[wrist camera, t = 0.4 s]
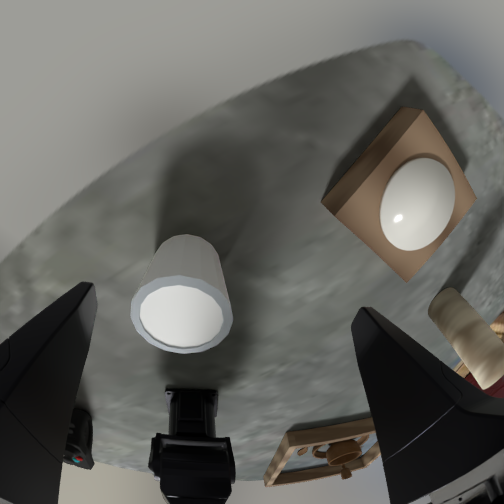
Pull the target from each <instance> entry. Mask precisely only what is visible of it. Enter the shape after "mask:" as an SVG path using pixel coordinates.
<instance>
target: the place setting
mask: <svg viewBox="0 0 504 504" xmlns="http://www.w3.org/2000/svg"><path fill="white" fill-rule="evenodd" d="M368 438H369V434H368V435H364V436H362V437H361V438H360V439H359V440H358V441H355V440H351V439H347V440H343V441H338V442H333V443H332V444H331V446H330V447H329V448H328V450H327V452H325V453H322V452H317V451H316V450H318V449H319V448H320V447H322V446H323V445H325V444H322V445H316V446H315V447H314V448H313V451H312V454H313V457H315V458H320V459H323V458H327V461H328V464H329V465H330V466H337V465H341V466H342V468H343V469H342V470H341V472H340V473H341V477H342V479H347V478H350V477H351V476H352V474H351V471H350V469H349V468H345V463H348V462H350V461H352V460H354V459H356V458H358V457H359V456H360V455H361V454H362V451H361V447H363V446H361V445H362V444H364V443H365V442H366V441H367V440H368ZM360 446H361V447H360ZM307 450H308V449H307V447H304V448H302V449H300V450H299V451H298V455H299V456H301V455H303V454H304V453H306V452H307Z"/></svg>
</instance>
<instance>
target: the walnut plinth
mask: <svg viewBox="0 0 504 504" xmlns="http://www.w3.org/2000/svg"><path fill="white" fill-rule="evenodd" d="M476 199H477V198H476V196H475V194H474V192H473V190H472V188H471V186H470V184H469V182H468V180H467V178H466V177H465V175H464V173H463V171H462V169H461V168H460V166H459V164H458V162H457V161H456V159H455V157H454V156H453V154H452V152H451V151H450V149H449V147H448V146H447V144H446V143H445V141H444V139H443V138H442V136H441V135H440V133H439V132H438V130H437V129H436V127H435V126H434V124H433V123H432V121H431V120H430V119H429V117H428V116H427V114H426V113H425V112H424V110H421V109H415V108H408V107H401V108H400V109H399V110H398V112H397V113H396V114H395V115H394V116H393V118H392V119H391V120H390V121H389V122H388V124H387V125H386V126H385V127H384V128H383V130H382V131H381V132H380V133H379V134H378V136H377V137H376V138H375V139H374V140H373V141H372V143H371V144H370V145H369V146H368V147H367V149H366V150H365V151H364V152H363V153H362V154H361V156H360V157H359V158H358V159H357V160H356V162H355V163H354V164H353V165H352V166H351V167H350V169H349V170H348V171H347V172H346V173H345V174H344V176H343V177H342V178H341V179H340V180H339V181H338V183H337V184H336V185H335V186H334V187H333V188H332V190H331V191H330V192H329V193H328V194H327V195H326V196H325V198H324V199H323V200H322V201H321V203H322V204H323V205H324V206H325V207H326V208H327V209H328V210H329V211H330V212H331V213H332V214H333V215H334V216H335V217H336V218H337V219H338V220H339V221H340V222H342V223H343V224H344V225H345V226H346V227H347V228H348V229H350V230H351V231H352V232H353V233H354V234H355V235H356V236H357V237H358V238H360V239H361V240H362V241H363V242H364V243H365V244H366V245H367V246H368V247H369V248H371V249H372V250H373V251H374V252H375V253H376V254H377V255H378V256H379V257H380V258H381V259H382V260H383V261H384V262H386V263H387V264H388V265H389V266H390V267H391V268H392V269H393V270H394V271H395V272H396V273H397V274H398V275H399V276H400V277H401V278H402V279H403V280H404V281H405V282H406V283H407V282H408V281H409V280H410V279H411V278H412V277H413V276H414V274H415V273H416V272H417V271H418V270H419V269H420V268H421V267H422V266H423V265H424V263H425V262H426V261H427V260H428V259H429V258H430V257H431V255H432V254H433V253H434V252H435V251H436V250H437V249H438V247H439V246H440V245H441V244H442V243H443V241H444V240H445V239H446V238H447V237H448V235H449V234H450V233H451V232H452V230H453V229H454V228H455V227H456V225H457V224H458V223H459V221H460V220H461V219H462V218H463V216H464V215H465V214H466V212H467V211H468V210H469V208H470V207H471V206H472V204H473V203H474V202H475V200H476Z"/></svg>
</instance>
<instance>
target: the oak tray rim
mask: <svg viewBox="0 0 504 504" xmlns="http://www.w3.org/2000/svg"><path fill="white" fill-rule="evenodd" d="M372 433H376V431H375V427H374V423H373V419H372V417H371V418H366V419H362V420H357V421H352V422H348V423H342V424H337V425H331V426H326V427H319V428H313V429H306V430H298V431H290V432H286V433H285V435H284V438H283V440H282V442H281V444H280V446H279V448H278V450H277V452H276V454H275V456H274V458H273V459H272V461H271V463H270V465H269V467H268V469H267V471H266V473H265V475H264V483H265V487H272V486H280V485H287V484H294V483H300V482H306V481H312V480H317V479H322V478H327V477H331V476H336V475H340V474H341V473H340V472H341V470H342V469H343V468H342V466H341V465H337V466H330V465H329V466H324V467H319V468H314V469H308V470H302V471H296V472H289V473H281V474H279V473H280V472H281V470H282V469H283V467H284V466H285V464H286V462H287V461H288V459H289V458H290V456H291V455H292V453H293V451H294V450H295V449H297V448H304V447H310V446H316V445H322V444H328V443H333V442H338V441H343V440H347V439H352V438H356V437H360V436H364V435H368V434H372ZM380 455H381V453H380V448H379V444H378V441H377V442H376V443H375V444H374V445H373V446H372V447H371V448H370V449H369V450H368V451H367V452H366V453H365V454H364V455H363V456H362V457H361V458H359V459H355V460H352V461H350V462H348V463H345V468H349V469H350V471H351V472H352V471H356V470H359V469H363V468H366V467H367V466H368V465H370V463H372V462H373V461H374V460H375V459H376V458H378V457H379V456H380Z"/></svg>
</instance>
